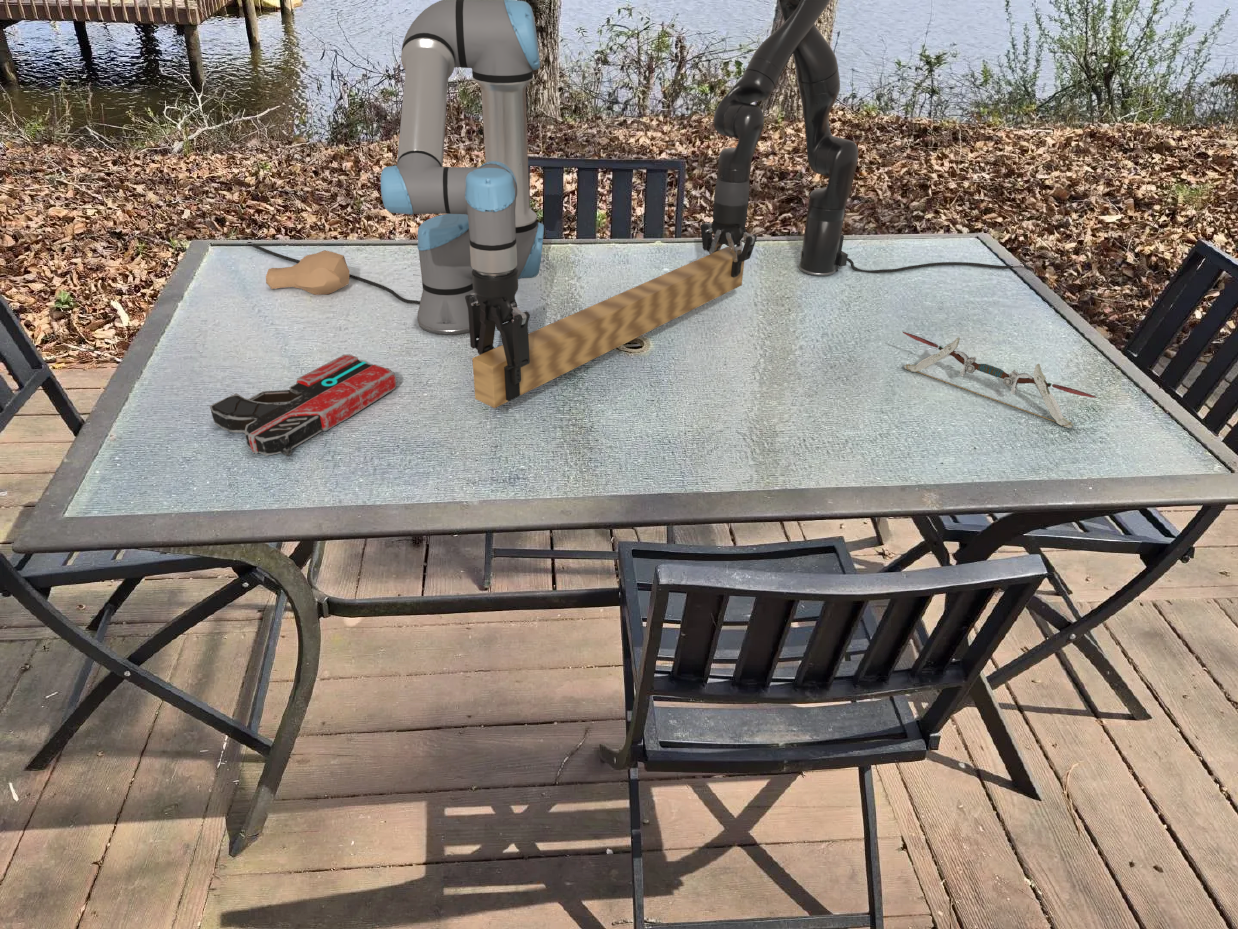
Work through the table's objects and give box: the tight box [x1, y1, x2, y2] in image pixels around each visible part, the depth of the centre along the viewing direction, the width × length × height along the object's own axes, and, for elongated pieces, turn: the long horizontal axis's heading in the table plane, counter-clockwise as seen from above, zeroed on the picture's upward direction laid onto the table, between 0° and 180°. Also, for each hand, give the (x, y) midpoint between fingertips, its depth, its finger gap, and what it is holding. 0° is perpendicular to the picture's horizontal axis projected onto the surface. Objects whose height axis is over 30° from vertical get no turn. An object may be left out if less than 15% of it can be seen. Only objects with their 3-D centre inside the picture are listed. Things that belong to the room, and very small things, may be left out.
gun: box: [209, 353, 398, 457], centre depth 162 cm, size 4×31×19 cm
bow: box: [901, 330, 1097, 429], centre depth 171 cm, size 39×2×10 cm, turn 47°
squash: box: [265, 250, 350, 296], centre depth 208 cm, size 11×20×9 cm, turn 90°
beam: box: [472, 246, 745, 409], centre depth 178 cm, size 79×5×8 cm, turn 140°
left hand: (501, 392), depth 157 cm, fingers closed on beam, 5 cm apart
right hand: (724, 272), depth 201 cm, fingers closed on beam, 5 cm apart
